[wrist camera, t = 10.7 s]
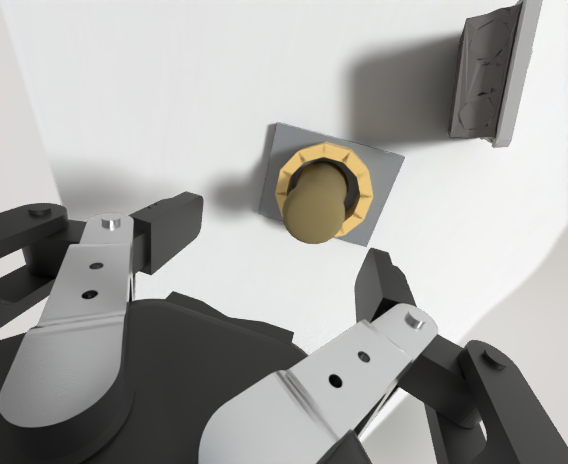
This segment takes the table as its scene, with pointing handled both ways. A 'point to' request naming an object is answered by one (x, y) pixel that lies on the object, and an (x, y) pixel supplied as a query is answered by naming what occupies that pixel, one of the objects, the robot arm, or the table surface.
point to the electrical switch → (493, 72)
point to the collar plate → (349, 157)
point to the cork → (316, 203)
